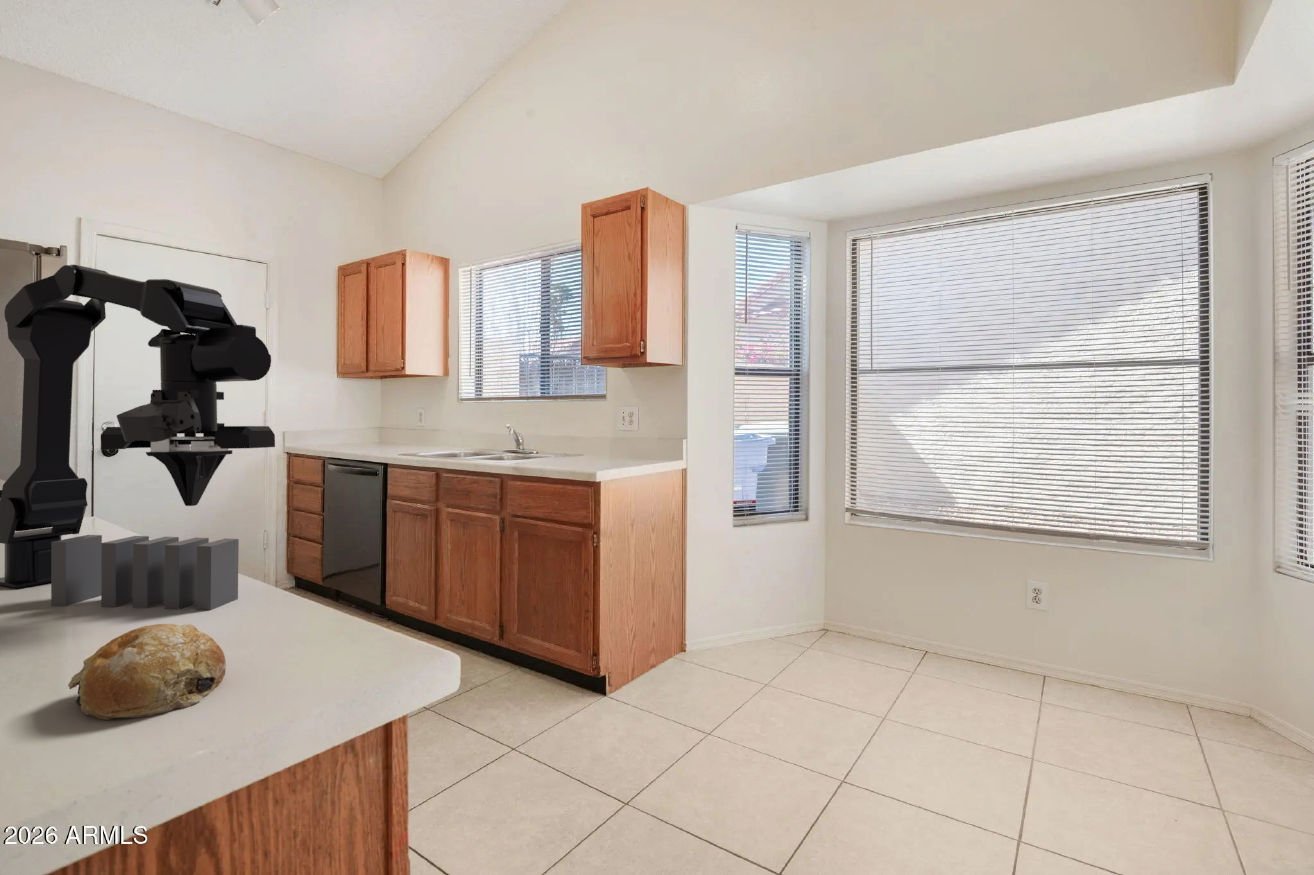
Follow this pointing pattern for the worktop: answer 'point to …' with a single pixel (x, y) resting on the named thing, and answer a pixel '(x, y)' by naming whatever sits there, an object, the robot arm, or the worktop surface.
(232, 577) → the tile
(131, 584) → the tile
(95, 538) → the tile
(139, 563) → the tile
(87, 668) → the bread roll
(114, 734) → the worktop surface
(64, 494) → the robot arm
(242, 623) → the worktop surface
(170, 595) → the tile
